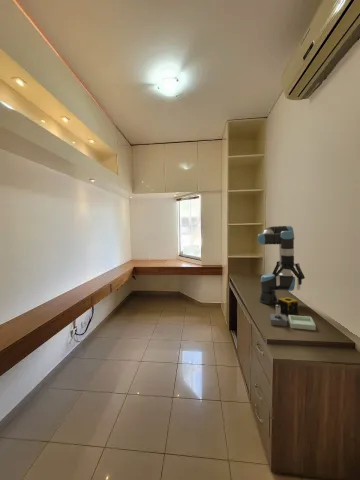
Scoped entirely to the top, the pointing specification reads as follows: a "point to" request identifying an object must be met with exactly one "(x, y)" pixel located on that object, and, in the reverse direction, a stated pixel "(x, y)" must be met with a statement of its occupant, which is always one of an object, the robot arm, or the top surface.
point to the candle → (288, 305)
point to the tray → (301, 322)
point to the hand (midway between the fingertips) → (288, 287)
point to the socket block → (278, 320)
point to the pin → (278, 311)
